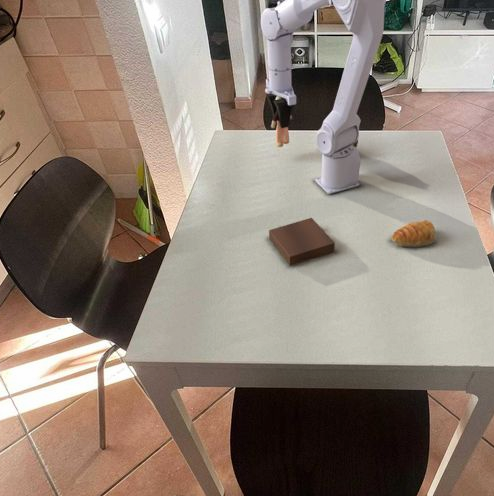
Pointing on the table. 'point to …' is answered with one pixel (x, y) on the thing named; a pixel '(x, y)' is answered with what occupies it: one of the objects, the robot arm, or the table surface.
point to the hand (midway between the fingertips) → (281, 124)
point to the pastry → (415, 234)
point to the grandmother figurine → (280, 130)
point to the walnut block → (301, 241)
